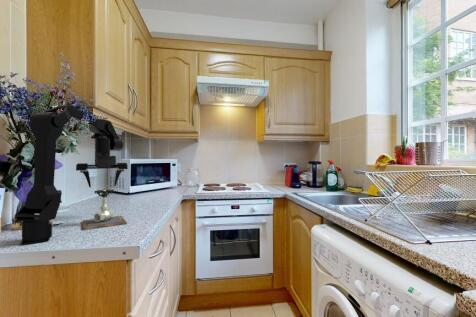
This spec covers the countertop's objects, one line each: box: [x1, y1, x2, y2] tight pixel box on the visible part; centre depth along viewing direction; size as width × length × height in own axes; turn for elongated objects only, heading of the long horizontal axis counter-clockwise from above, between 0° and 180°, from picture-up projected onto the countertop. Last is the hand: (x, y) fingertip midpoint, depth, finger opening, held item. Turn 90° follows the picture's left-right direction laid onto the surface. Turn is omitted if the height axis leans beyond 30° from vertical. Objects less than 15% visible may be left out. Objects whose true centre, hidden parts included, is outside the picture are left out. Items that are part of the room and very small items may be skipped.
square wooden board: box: [82, 215, 128, 231], centre depth 93 cm, size 14×14×1 cm
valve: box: [93, 188, 115, 223], centre depth 93 cm, size 7×7×12 cm
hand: (102, 186), depth 101 cm, fingers open, 9 cm apart
